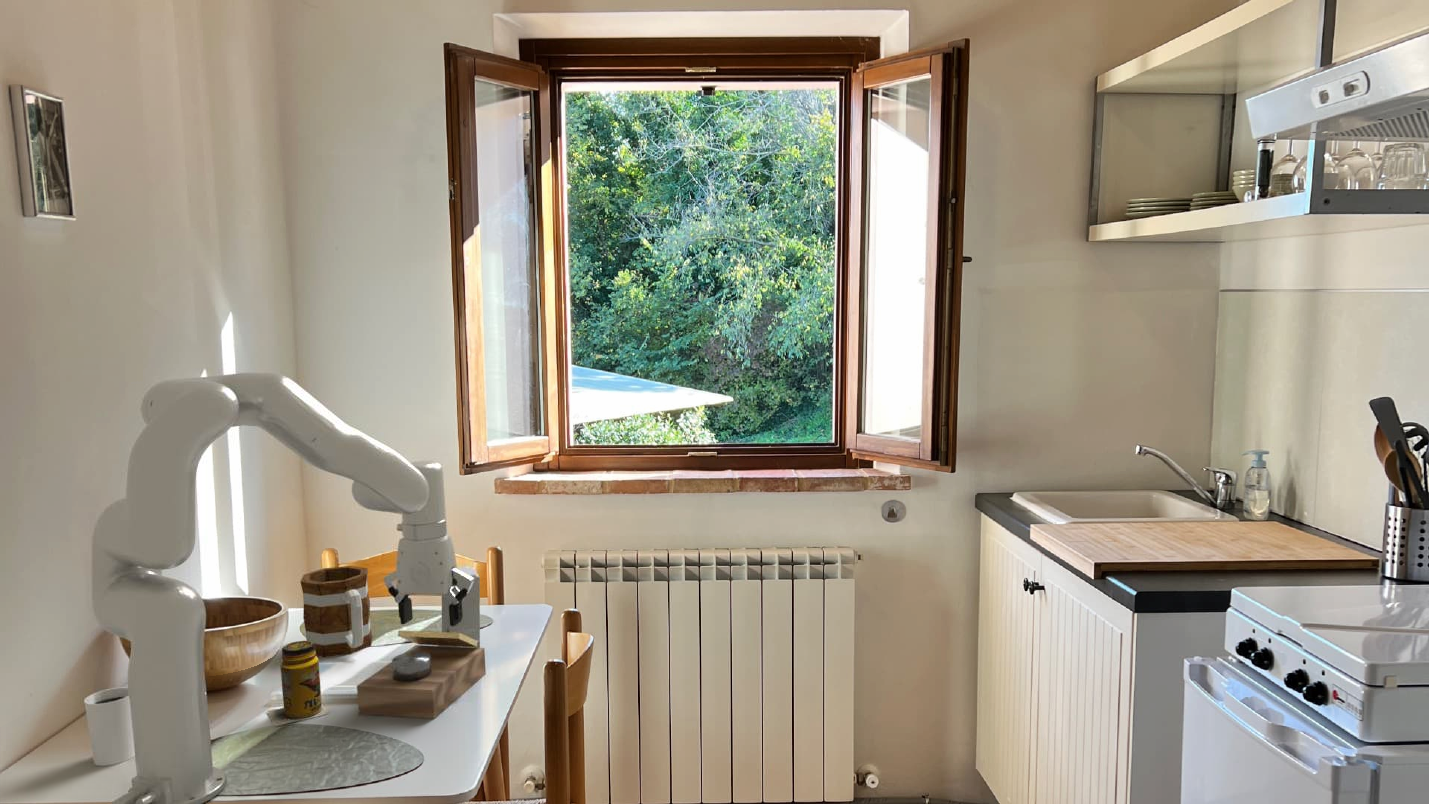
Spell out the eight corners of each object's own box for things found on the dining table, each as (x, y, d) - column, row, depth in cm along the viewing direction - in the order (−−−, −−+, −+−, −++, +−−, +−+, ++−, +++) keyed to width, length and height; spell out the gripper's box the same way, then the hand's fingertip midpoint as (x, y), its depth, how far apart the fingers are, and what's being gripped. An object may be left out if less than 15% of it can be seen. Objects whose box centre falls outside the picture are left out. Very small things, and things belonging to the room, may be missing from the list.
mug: (296, 645, 203) (290, 574, 201) (361, 630, 211) (356, 562, 209) (326, 671, 187) (320, 595, 186) (395, 653, 196) (390, 580, 194)
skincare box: (441, 644, 200) (436, 568, 199) (476, 638, 203) (472, 563, 202) (448, 657, 193) (443, 578, 191) (484, 650, 196) (480, 573, 194)
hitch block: (434, 718, 164) (432, 690, 163) (358, 714, 167) (356, 686, 166) (485, 673, 183) (484, 648, 183) (417, 670, 186) (415, 644, 186)
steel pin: (422, 710, 167) (419, 665, 166) (388, 708, 168) (384, 664, 168) (439, 695, 173) (437, 652, 173) (406, 694, 175) (404, 650, 174)
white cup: (119, 745, 158) (114, 685, 156) (149, 750, 155) (143, 690, 154) (80, 763, 151) (73, 701, 150) (110, 769, 149) (104, 706, 148)
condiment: (328, 714, 167) (323, 646, 166) (274, 727, 162) (269, 657, 161) (319, 700, 173) (314, 635, 172) (267, 712, 169) (261, 645, 167)
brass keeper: (458, 638, 175) (459, 631, 175) (397, 636, 177) (398, 629, 178) (479, 647, 183) (480, 641, 183) (420, 645, 185) (421, 638, 186)
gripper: (369, 534, 173) (376, 628, 175) (460, 536, 170) (466, 631, 172) (392, 524, 181) (398, 614, 183) (478, 526, 177) (484, 617, 179)
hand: (431, 622), depth 177 cm, fingers open, 9 cm apart
